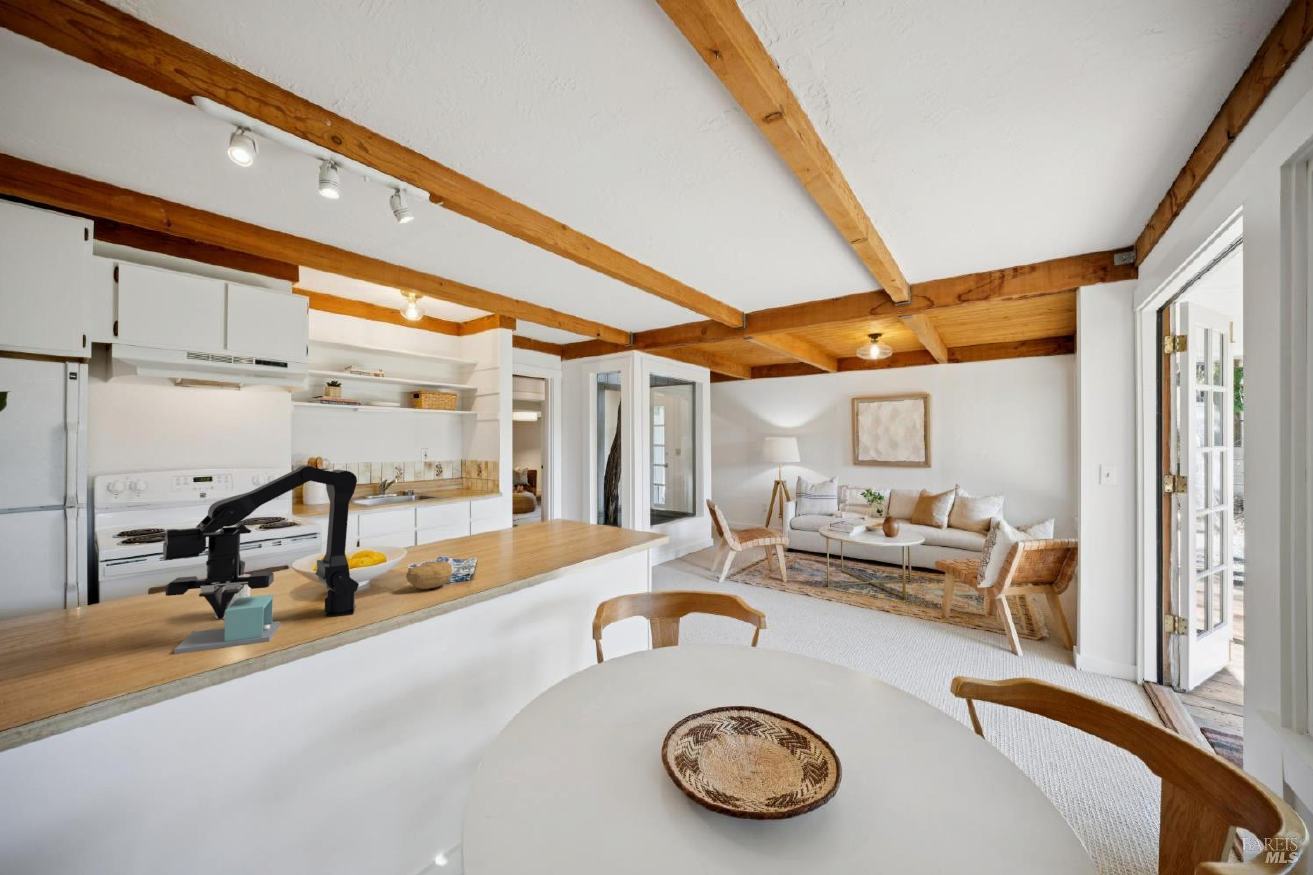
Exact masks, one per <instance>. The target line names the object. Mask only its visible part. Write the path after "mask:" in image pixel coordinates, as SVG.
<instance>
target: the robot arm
mask: <svg viewBox="0 0 1313 875" xmlns="http://www.w3.org/2000/svg"><path fill="white" fill-rule="evenodd" d="M308 482H314V483H320V484H324V485H325V486H326V489H325V490H326V494H327V496H328V500H329V511H328V512H329V513H328V522H327V523H328V525H327V535H326V538H327V540H326V550H325V551H326V552H325V555H324V557H323V559H317V560H316V571H315V575H316V576H317V578H318V579H317V580H319V582H320V583H321V584H323V585H324V586H326V588H327V589H328V591H327V595H326V596H325V598H324V613H325V618H328V617H337V616H344V615H353V614H354V613H355V610H356V607H357V606H356V604H355V603H356V600H355V599H356V598H355V597H356V592H357V590H358V588H359V586H360V584H359V582H357V581H356V580H354V579H353V578H352V577H350V576H351V574H350V567H349V566H350V565H349V562H348V559H347V558H348V557H347V556H346V545H347V544H346V543H347V531H348V520H349V519H348V518H349V506H350V501H351V499H352V498H353V495H354V493H355V491H356V486H357V485H358V484H357V483H358V478H357V476H356V474H354V473H353V472H352V471H350V470H344V469H333V470H331V471H330V470H326V469H322V468H317V467H314V466H312V465H305V464H304V465H300V466H299V467H297V468H296V469H294V470H292V471H290V472H288V473H285V474H284V475H282V476H280V477H278V478H275V479H273V480H271V481H269V482H267V483H265V484H263V485H260V486H259V487H257V488H255V489H253V490H251V491H248V492H245V493H241V494H237V495H233V496H230V497H227V498H224V499H223V498H222V499H221V500H218V501H215V502H214V503H212V504H211V505H210V506H209V508H208V510H207V515H206V516H205V517H204V518H203V519H202V520H201V521H200V522H199V523H198V524H197V525H196V526H195V527H192V528H190V527H189V528H167V529H166V530H165V531H166V532H165V537H164V542H163V543H162V556H163V561H172V560H179V559H189V558H197V557H199V556H200V554H203V553H205V551H206V549H207V560H206V562H205V563H206V564H205V565H206V578H205V579H199V578H198V577H197V576H195V575H194V576H182V577H181V576H180V577H176V578H175V579H174V580H171V581H170V582H169V583H167V584H166V587H165V596H167V597H169V596H170V597H171V596H172V597H173V596H182V595H184V594H185V593H187V592H188V591H189V590H194V589H195V590H197V589H200V593H198V596H199V598H201V597H203V598H204V599H205V600H206V601H207V602H208V603H209V605H210V607H211V608H212V610H213V611H214V614H215V613H216V615H217V617H218V619H217V620H224V619H223V617H224V615H225V610H226V609H227V608H228V606H229V604H230V602H231V600H232V598H233V596H234V595H235V594H237V593H239V592H240V591H241V590H242V589H243V588H244V585H248V587H250V588H251V589H252V590H254V589H255V590H257V589H266V588H269V587H270V586H271V585H272V584H273V582H274V581H275V579H274V578H275V574H274V573H273V571H271V570H269V571H268V570H267V571H265V570H264V571H254V572H253V573H252V574H250V575H251V576H249V577H239V576H241V575H244V574H245V566H246V562H245V561H243V560H242V559H241V553H240V552H241V551H240V550H241V549H240V548H241V535H243V534H245V535H246V534H251V533H252V530H251V529H250V528H248V527H247V526H246V525H245V524H244V523H242V521H243V520H244V519H246V518H247V517H248V516H250V515H251V514H252V513H253V512H254V511H256V510H257V509H258V508H259V507H261V506H262V505H264V504H267V503H268V502H270V501H272V500H275V499H276V498H279V497H281V496H282V495H284V494H287V493H288V492H290V491H292V490H294V489H296V488H298V487H300V486H302V485H304V484H306V483H308ZM235 525H236V526H235ZM207 538H208V542H207ZM207 543H208V546H207ZM206 547H207V548H206ZM217 582H218V583H217ZM226 582H227V583H226ZM213 583H214V584H213ZM223 586H225V588H226V590H225V591H224V592H222V589H223ZM251 589H250V590H251Z"/></svg>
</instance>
